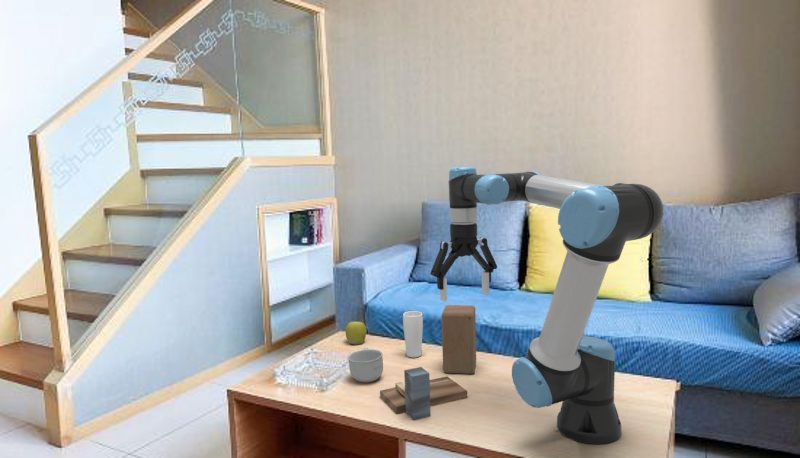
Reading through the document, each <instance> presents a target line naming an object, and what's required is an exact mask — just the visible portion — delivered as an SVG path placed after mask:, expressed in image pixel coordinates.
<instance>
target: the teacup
mask: <svg viewBox="0 0 800 458" xmlns="http://www.w3.org/2000/svg"><path fill="white" fill-rule="evenodd" d="M347 360H348V366H349V372H350V376H351V377H352V378H353V379H354V380H355V381H357V382H359V383H365V384H366V383H367V384H368V383H372V382H374V381H376V380H378V379H379V377H380V376H382V374H383V371H384V358H383V352H382V351H381V350H379V349H373V348H372V349H371V348H369V347H364V348H363V349H359V350H356V351H354V352H352V353H350V354H349V355H348V356H347Z"/></svg>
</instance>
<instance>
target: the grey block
mask: <svg viewBox="0 0 800 458" xmlns="http://www.w3.org/2000/svg"><path fill="white" fill-rule="evenodd" d="M403 371H404V377H403V378H404V383H403V382H401V381H399V382H396V383H394V384H395V385H394V386H395V387H396V389H397V390H398V391H399V392H400V393H401V394H402V395H403V396H405V405H406V412H405V414H407V415H408V417H410V418H411V419H412V420H413V421H416V420H421V419H424V418H428V417H431V406H430V380H431V379H430V373H429V372H428V371H427V370H426V369H425V368H423V367H422V366H419V367H414V368H408V369H404V370H403Z"/></svg>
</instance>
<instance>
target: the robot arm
mask: <svg viewBox="0 0 800 458" xmlns="http://www.w3.org/2000/svg"><path fill="white" fill-rule="evenodd" d="M448 172H449V173H448V175H449V176H448V198H449V199H448V200H449V202H448V203H449V221H450V222H451V223H450V224H449V234H450V235H449V236H450V241H449V242H448V241H447V242H446V241H443V240H441V242H440V244H439V251H438V253H437V255H436V258H435V260H434V263H433V265H432V267H431V271H430V276H433V277H435V278H436V283H437V286H436V288H437V290H439V300H440V301H442V302H444V303H445V302H448V287H447V286H448V285H447V284H448V282H447V281H448V280H447V277H445V276H446V275H447V273H448V272H449V270H450V269H451V268H452V266H453V264H454V263H455V261H456V260H457V259H458V258H459V257H466V256H467V257H470V256H472V257H473V259H474V260H475V261H476V262H477V263H478V265H479V266H480V267H481V268H482V269H483V270H481V294H483V295H486V296H490V283H492V273H494V270H497V269H498V265H497V263H496V260H495V258H494V256H493V254H492V252H491V250H490V248H489V246H488V239H487V238H486V237H481V236H480V237H479V238H478V224H477V223H476V222H477V221H478V204H485V205H489V206H490V205H499V204H502V203H509V202H518V201H519V202H522V201H523V202H527V203H532V204H537V205H541V206H546V207H549V208H554V209H557V210H558V209H559V211H558V216H557V224H558V225H559V226H560V227H559V229H558V231H559V234H560V236H561V238H562V245H563V247H564V249H566V254H565V257H564V261H563V263H562V265H561V270H560V273H559V276H558V278H557V282H556V285H555V287H554V288H555V289H554V292H553V295H552V298H551V301H550V304H549V307H548V311H547V314H546V316H545V320H544V323H543V326H542V329H541V332H540V335H539V337H535V338H534V339H532V340H531V341H530V344H529V347H528V350H527V354H526V356H524V357H523V356H522V357H519V358H517V359H516V360H515V361H514V362H513V364H512V366H511V378H512V382H513V385H514V388H515V391H516V392H517V394H518V395H519V397H520V398H521V400H522V401H523V402H525V404H527V405H528V406H530V407H532V408H536V409H539V408H545V407H551V406H552V405H554V404H558V403H561V402H562V403H561V407H560V410H559V412H558V413H557V417H556V428H557V430H558V432H559V433H560V434H562V435H563V436H564V437H566V438H568V439H570V440H572V441H575V442H579V443H583V444H589V445H590V444H591V445H606V444H610V443H613V442H616V441H617V440H619V439H620V437H621V435H622V423H621V420H620V418H619V412H618V410H617V407H616V404H615V373H616V372H615V371H616V357H615V348H614V346H613V344H612V343H610V342H609V341H607V340H604V339H601V338H598V337H594V336H588V335H584V334H585V331H586V327H587V325H588V323H589V321H590V320H589V319H590V317H591V314H592V312H593V309H594V306H595V303H596V301H597V297H598V295H599V292H600V290H601V286H602V285H603V281H604V278H605V276H606V273H607V270H608V267H609V265H611V264H614V263H616V262H618V261H619V260H620V258H621V254H622V252H623V249H624V247H625V244H626V242H630V241H637V240H641V239H645V238H646V237H649V236H650V235H651V234H653V233H654V232H655V231H656V230H657V229H658V228H659V226H660V225H661V223H662V220H663V216H664V203H663V201H662V199H661V197H660V195H659V194H658V193H657V192H656V191H655V190H654V189H652V188H651V187H649V186H647V185H644V184H639V183H624V182H623V183H622V182H615V183H613V184H611V185H605V184H598V183H595V182H594V183H593V182H587V181H586V182H585V181H579V180H574V179H568V178H561V177H555V176H554V177H553V176H549V175H543V174H542V173H540V172H538V171H524V172H513V173H510V172H509V173H507V172H506V173H493V174H492V173H491V174H477V169H476V167H475V166H454V167H451V168H450V169H449V171H448ZM477 246H478V247H480V250H481V252H482V254H483V256H482V255H481V254H480V251H478V249H477ZM450 249H451V250H450ZM449 250H450V252H449ZM448 252H449V253H448ZM447 255H448V256H447Z"/></svg>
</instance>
